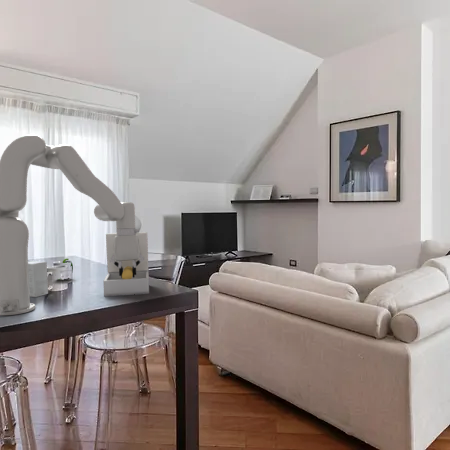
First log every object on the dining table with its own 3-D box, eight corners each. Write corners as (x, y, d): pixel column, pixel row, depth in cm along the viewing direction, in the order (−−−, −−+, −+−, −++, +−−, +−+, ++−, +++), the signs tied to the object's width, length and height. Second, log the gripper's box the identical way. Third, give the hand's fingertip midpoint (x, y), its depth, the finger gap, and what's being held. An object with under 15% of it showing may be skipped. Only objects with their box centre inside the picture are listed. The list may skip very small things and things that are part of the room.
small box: (48, 294, 156) (47, 261, 155) (35, 297, 150) (33, 264, 149) (34, 292, 159) (32, 260, 158) (20, 295, 153) (18, 263, 152)
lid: (147, 232, 166) (147, 231, 168) (105, 233, 162) (106, 232, 164) (148, 272, 169) (148, 270, 171) (107, 274, 166) (108, 272, 168)
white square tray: (149, 293, 153) (148, 278, 152) (104, 296, 149) (103, 280, 149) (148, 285, 169) (148, 271, 169) (108, 287, 166) (107, 273, 166)
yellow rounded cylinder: (132, 281, 154) (132, 271, 154) (121, 281, 153) (121, 271, 153) (133, 275, 166) (133, 266, 165) (123, 275, 165) (123, 266, 165)
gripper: (147, 231, 163) (148, 274, 165) (105, 232, 160) (107, 276, 161) (147, 232, 156) (148, 277, 157) (103, 234, 153) (105, 280, 154)
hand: (127, 276), depth 159 cm, fingers closed on yellow rounded cylinder, 3 cm apart
